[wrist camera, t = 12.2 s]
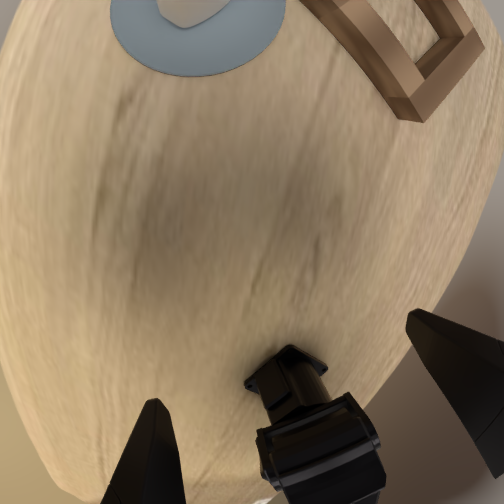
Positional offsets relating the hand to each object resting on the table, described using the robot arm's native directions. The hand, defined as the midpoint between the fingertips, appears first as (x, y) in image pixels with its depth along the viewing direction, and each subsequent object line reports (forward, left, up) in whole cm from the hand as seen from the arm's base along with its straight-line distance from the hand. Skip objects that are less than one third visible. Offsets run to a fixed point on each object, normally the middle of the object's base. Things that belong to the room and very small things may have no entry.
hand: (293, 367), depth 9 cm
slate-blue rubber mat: (+12, -10, -13) cm, 20 cm away
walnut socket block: (+2, -21, -13) cm, 25 cm away
